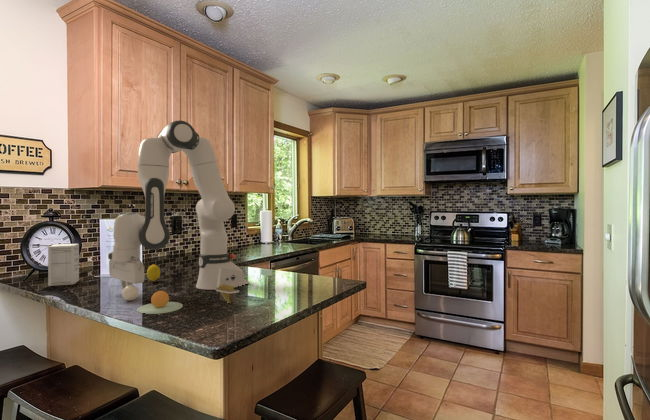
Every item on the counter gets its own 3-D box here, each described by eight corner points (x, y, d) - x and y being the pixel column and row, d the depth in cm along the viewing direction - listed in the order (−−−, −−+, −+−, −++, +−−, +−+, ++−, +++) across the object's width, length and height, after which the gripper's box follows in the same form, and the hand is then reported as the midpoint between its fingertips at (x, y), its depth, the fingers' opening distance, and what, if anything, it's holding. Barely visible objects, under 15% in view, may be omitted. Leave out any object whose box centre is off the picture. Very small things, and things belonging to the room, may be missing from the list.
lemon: (162, 280, 162) (162, 263, 162) (155, 283, 157) (155, 265, 157) (151, 280, 163) (151, 262, 163) (143, 282, 157) (144, 264, 157)
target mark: (173, 300, 129) (173, 299, 129) (189, 308, 119) (189, 307, 119) (131, 307, 119) (131, 306, 119) (144, 316, 109) (144, 316, 109)
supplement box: (79, 280, 160) (80, 243, 160) (74, 284, 152) (75, 245, 152) (53, 281, 156) (54, 243, 156) (47, 286, 148) (47, 246, 148)
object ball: (174, 299, 120) (167, 306, 123) (166, 285, 121) (159, 293, 124) (160, 305, 116) (153, 313, 118) (152, 291, 116) (145, 299, 119)
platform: (231, 311, 117) (231, 292, 117) (195, 303, 127) (195, 285, 127) (255, 303, 128) (256, 285, 128) (221, 296, 137) (221, 279, 137)
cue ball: (139, 283, 127) (144, 296, 129) (131, 281, 131) (136, 294, 132) (123, 290, 123) (129, 304, 125) (116, 288, 127) (122, 302, 128)
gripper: (149, 257, 129) (149, 294, 130) (123, 252, 141) (122, 286, 142) (131, 259, 124) (131, 298, 124) (105, 254, 136) (105, 289, 136)
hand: (126, 292), depth 133 cm, fingers closed
